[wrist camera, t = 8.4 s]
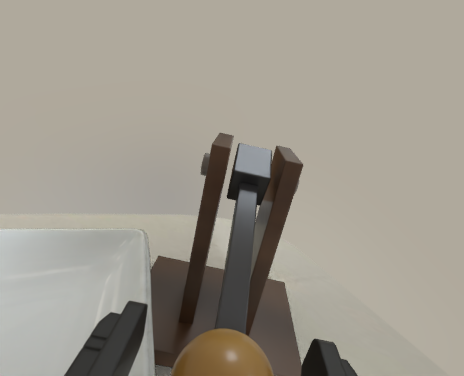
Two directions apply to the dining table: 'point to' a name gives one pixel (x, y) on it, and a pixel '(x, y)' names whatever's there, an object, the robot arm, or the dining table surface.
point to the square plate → (68, 294)
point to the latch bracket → (210, 279)
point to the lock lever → (234, 282)
